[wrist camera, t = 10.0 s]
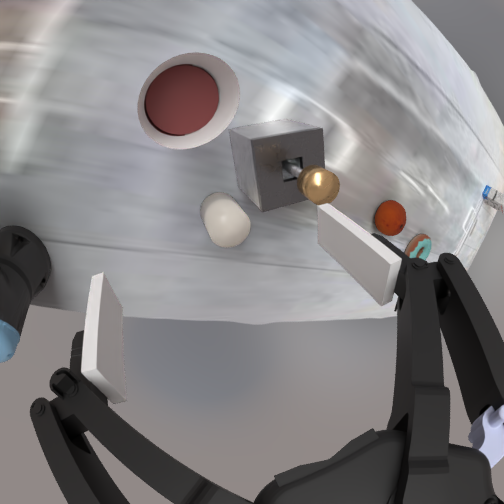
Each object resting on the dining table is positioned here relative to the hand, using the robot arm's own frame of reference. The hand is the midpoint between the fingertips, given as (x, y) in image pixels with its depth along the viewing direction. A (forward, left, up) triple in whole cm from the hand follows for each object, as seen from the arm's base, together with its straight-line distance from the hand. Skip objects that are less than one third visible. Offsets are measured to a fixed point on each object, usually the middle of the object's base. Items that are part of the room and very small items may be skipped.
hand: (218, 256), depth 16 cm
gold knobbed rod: (+16, -5, -33) cm, 37 cm away
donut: (+65, -44, -35) cm, 86 cm away
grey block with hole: (+16, -5, -35) cm, 38 cm away
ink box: (+115, -34, -35) cm, 125 cm away
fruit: (+47, -26, -35) cm, 64 cm away
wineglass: (+2, +8, -35) cm, 36 cm away
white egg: (+6, -14, -35) cm, 38 cm away
